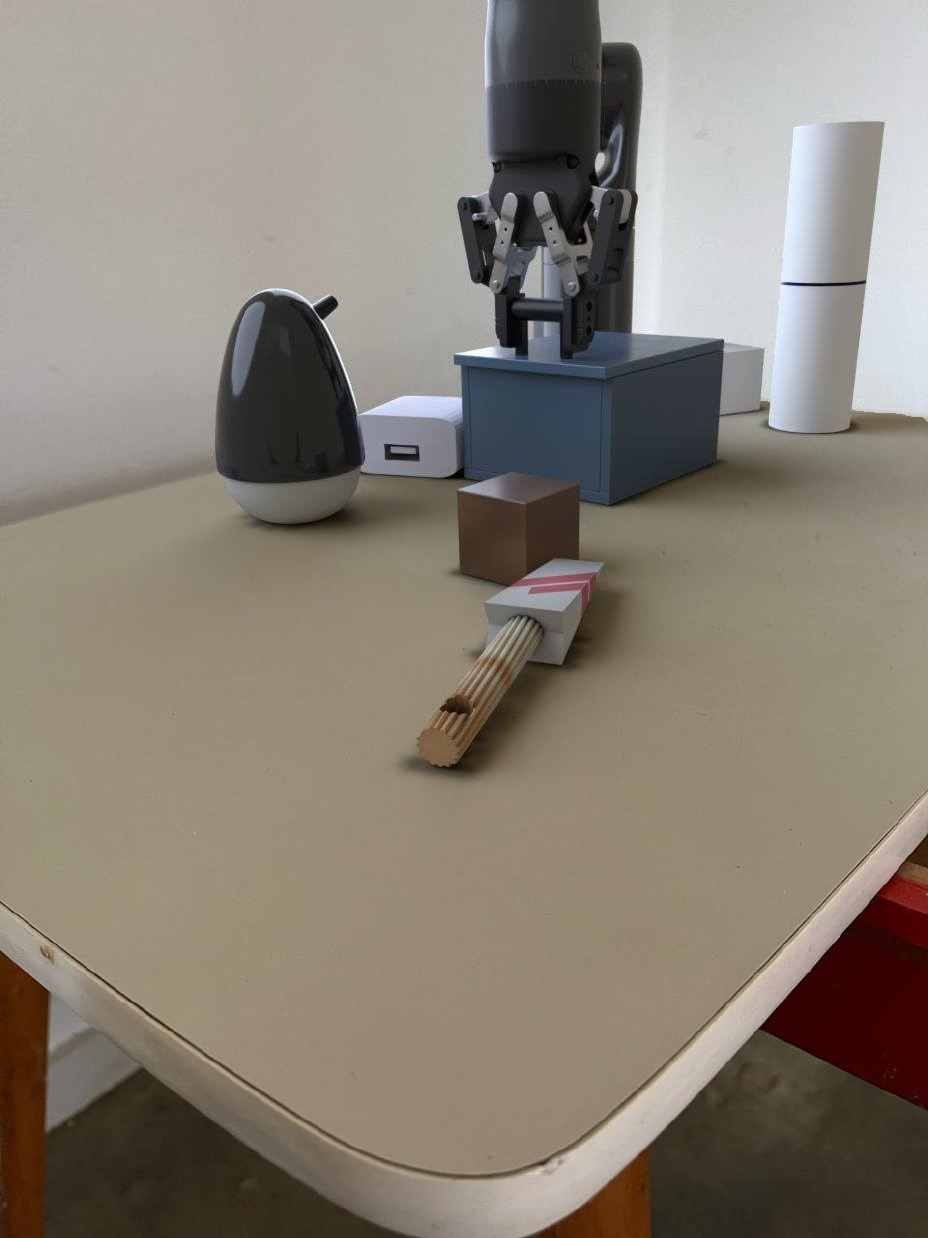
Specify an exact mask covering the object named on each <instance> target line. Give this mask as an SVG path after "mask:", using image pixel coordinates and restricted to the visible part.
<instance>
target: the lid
mask: <svg viewBox="0 0 928 1238" xmlns="http://www.w3.org/2000/svg"><path fill="white" fill-rule="evenodd" d="M509 311H510V315H511V317H512V318H513V319H514V320H515V348H502V347H501V346H500V344H499V345H495V346H490V347H489V346H488V347H483V348H479V349H474V350H468V351H462V352H457V353H454V354H453V365H455V366H461V365H462V366H472V367H483V368H493V369H503V370H514V371H524V372H535V373H545V374H555V375H566V376H576V377H587V378H597V379H608V378H612V377H616V376H620V375H624V374H628V373H632V372H636V371H640V370H644V369H648V368H652V367H656V366H660V365H663V364H667V363H671V362H675V361H679V360H683V359H687V358H691V357H695V356H699V355H703V354H707V353H711V352H715V351H719V350H723V349H724V342H725V339H724V338H714V337H700V336H682V335H681V336H680V335H667V334H649V333H635V332H634V333H633V332H632V333H618V332H602V331H594V338H593V341H592V342H591V343H589V347H588V349H587V350H586V351H582V352H577V353H568V352H565V351H564V350H563V299H559V298H541V297H534V296H533V297H532V296H531V297H528V296H525V297H515V298H514V299H513V300H512V301H511V303H510V308H509ZM533 321H540V322H558V323H560V334H558V335H552V336H547V337H542V338H536V339H533V338H532V339H529V322H533Z"/></svg>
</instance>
